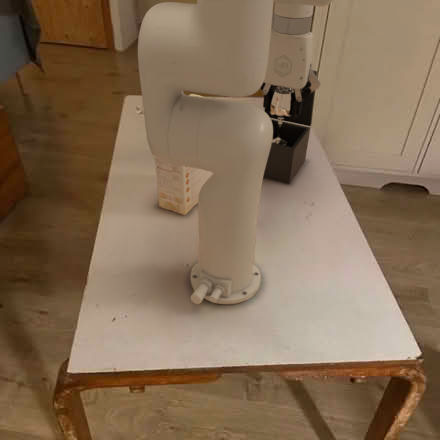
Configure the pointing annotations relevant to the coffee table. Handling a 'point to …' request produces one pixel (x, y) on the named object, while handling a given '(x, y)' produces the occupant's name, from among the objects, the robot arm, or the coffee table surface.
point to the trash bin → (287, 152)
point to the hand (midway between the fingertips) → (281, 113)
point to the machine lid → (306, 109)
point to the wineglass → (281, 108)
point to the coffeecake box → (179, 185)
